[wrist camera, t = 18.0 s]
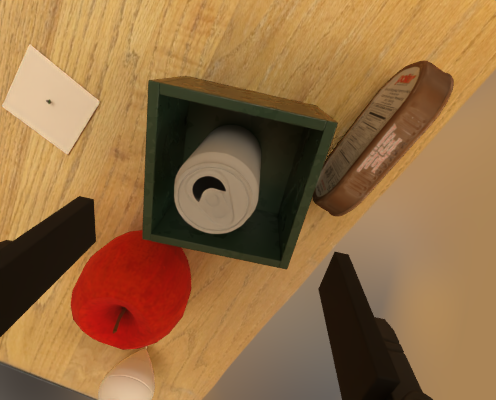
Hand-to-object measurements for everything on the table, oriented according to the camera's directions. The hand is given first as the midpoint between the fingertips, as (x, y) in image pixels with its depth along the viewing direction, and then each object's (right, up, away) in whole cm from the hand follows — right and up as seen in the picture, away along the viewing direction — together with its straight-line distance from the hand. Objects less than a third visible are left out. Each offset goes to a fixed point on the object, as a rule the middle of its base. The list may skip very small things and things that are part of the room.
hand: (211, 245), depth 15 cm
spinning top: (-15, -22, +32) cm, 41 cm away
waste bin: (+1, +8, +16) cm, 18 cm away
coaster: (-19, +13, +15) cm, 28 cm away
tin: (+13, +10, +14) cm, 22 cm away
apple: (-10, -4, +22) cm, 25 cm away
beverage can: (0, +8, +15) cm, 17 cm away
